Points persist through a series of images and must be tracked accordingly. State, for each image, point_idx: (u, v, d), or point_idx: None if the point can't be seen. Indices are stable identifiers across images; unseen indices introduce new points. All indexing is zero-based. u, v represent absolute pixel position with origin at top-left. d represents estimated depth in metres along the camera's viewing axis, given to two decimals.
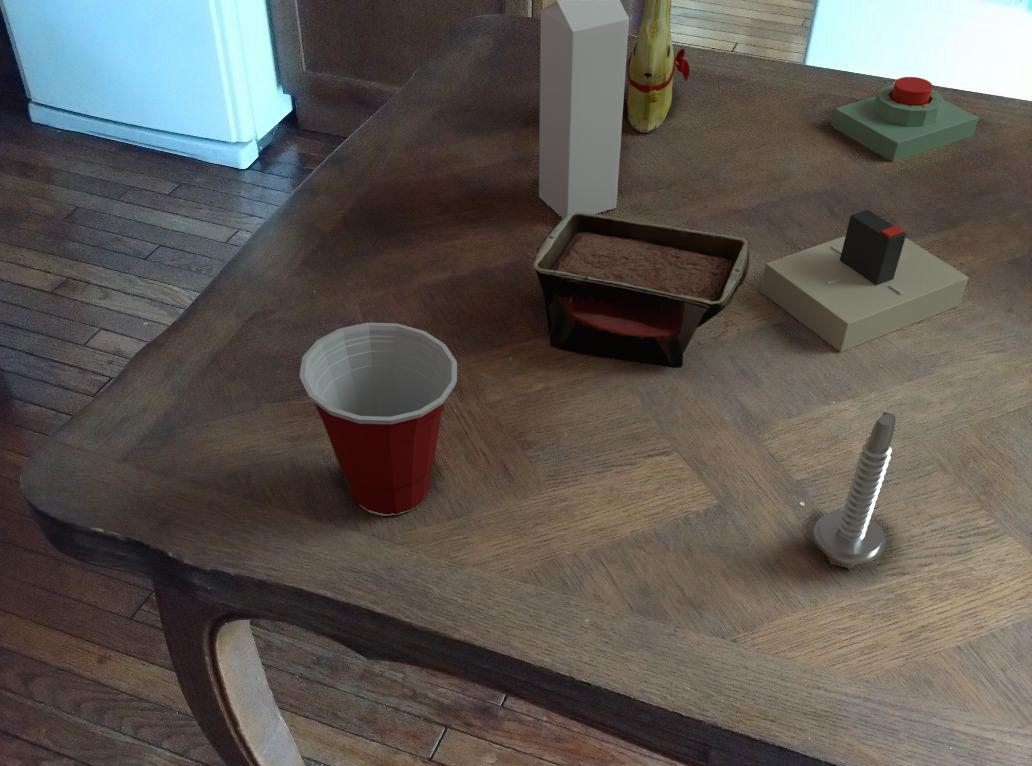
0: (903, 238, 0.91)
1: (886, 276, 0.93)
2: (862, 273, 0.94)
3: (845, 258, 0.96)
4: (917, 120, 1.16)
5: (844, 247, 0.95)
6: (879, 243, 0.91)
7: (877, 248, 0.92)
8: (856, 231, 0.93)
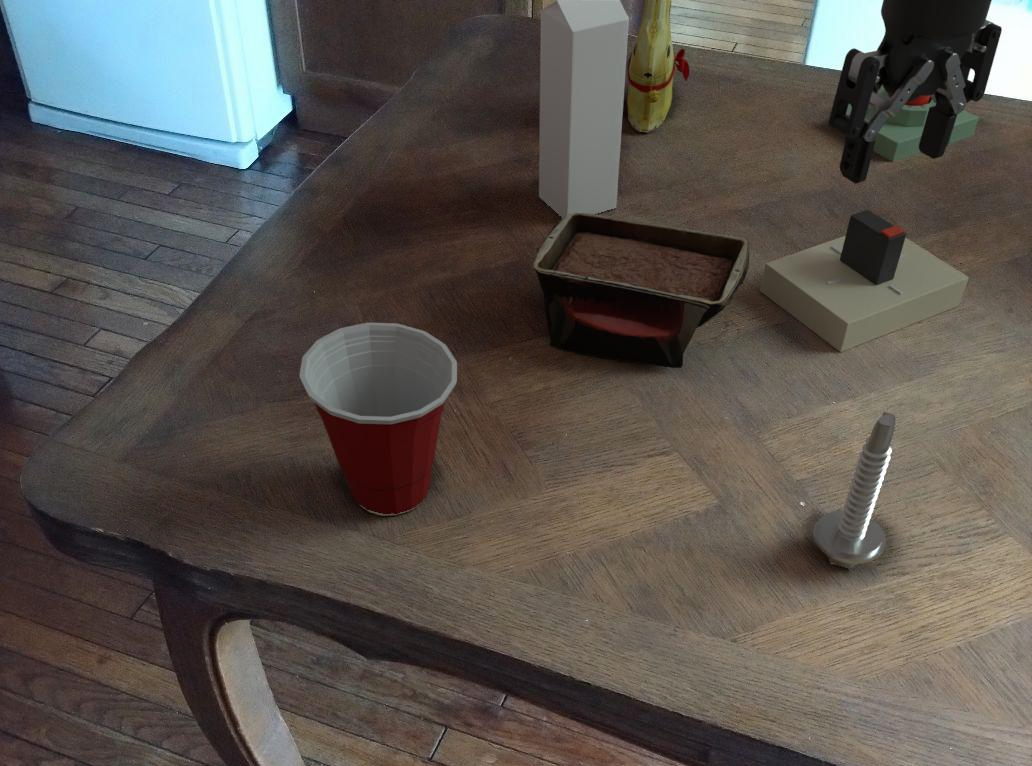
0: (903, 238, 0.91)
1: (886, 276, 0.93)
2: (862, 273, 0.94)
3: (845, 258, 0.96)
4: (917, 120, 1.16)
5: (844, 247, 0.95)
6: (879, 243, 0.91)
7: (877, 248, 0.92)
8: (856, 231, 0.93)
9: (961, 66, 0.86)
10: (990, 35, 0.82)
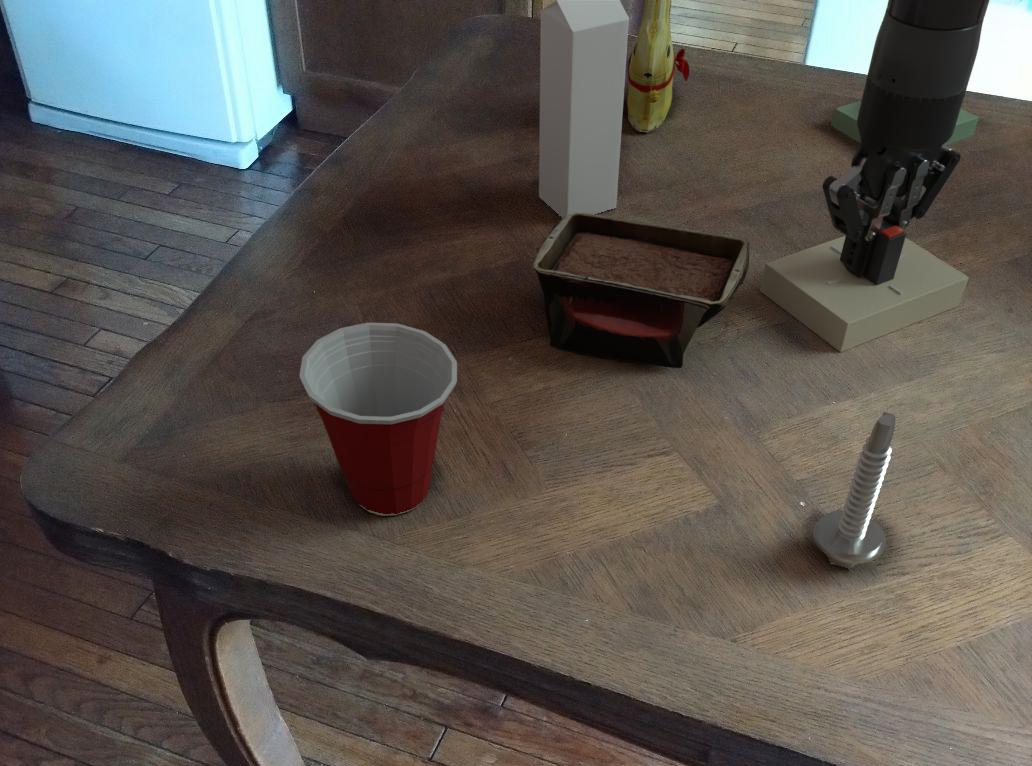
0: (903, 238, 0.91)
1: (886, 276, 0.93)
2: None
3: None
4: None
5: (844, 247, 0.95)
6: (879, 243, 0.91)
7: (877, 248, 0.92)
8: None
9: None
10: (951, 158, 0.89)
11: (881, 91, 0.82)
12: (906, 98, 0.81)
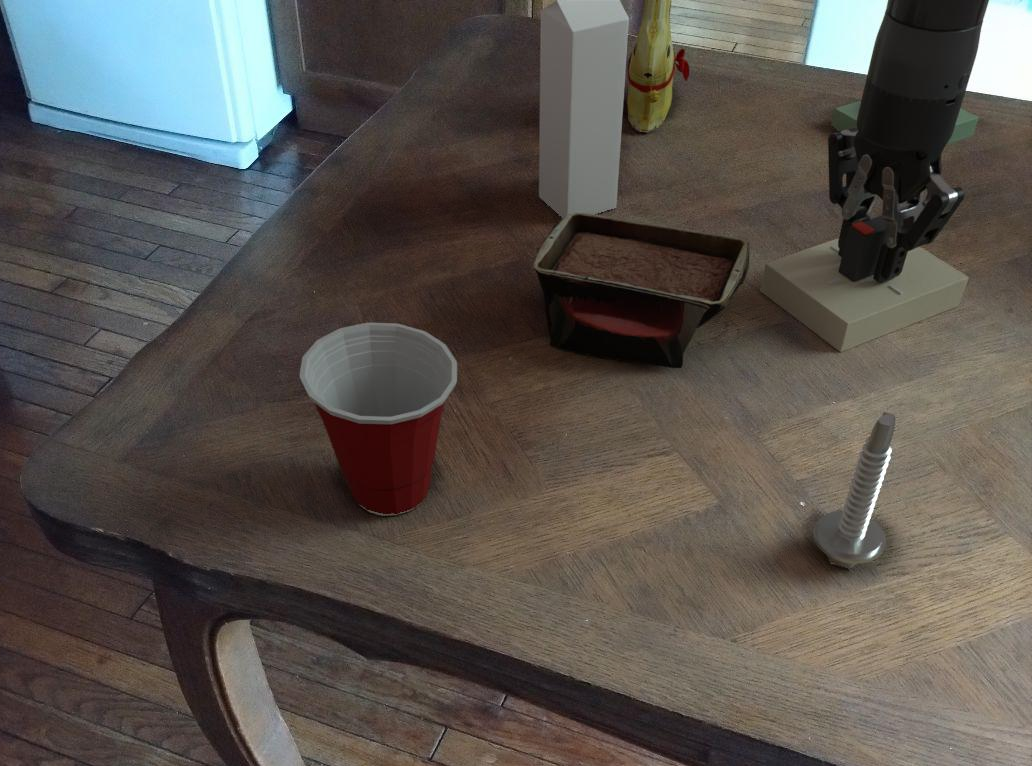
0: (862, 239, 0.91)
1: (846, 270, 0.94)
2: None
3: None
4: None
5: None
6: None
7: None
8: None
9: None
10: (932, 197, 0.84)
11: None
12: None
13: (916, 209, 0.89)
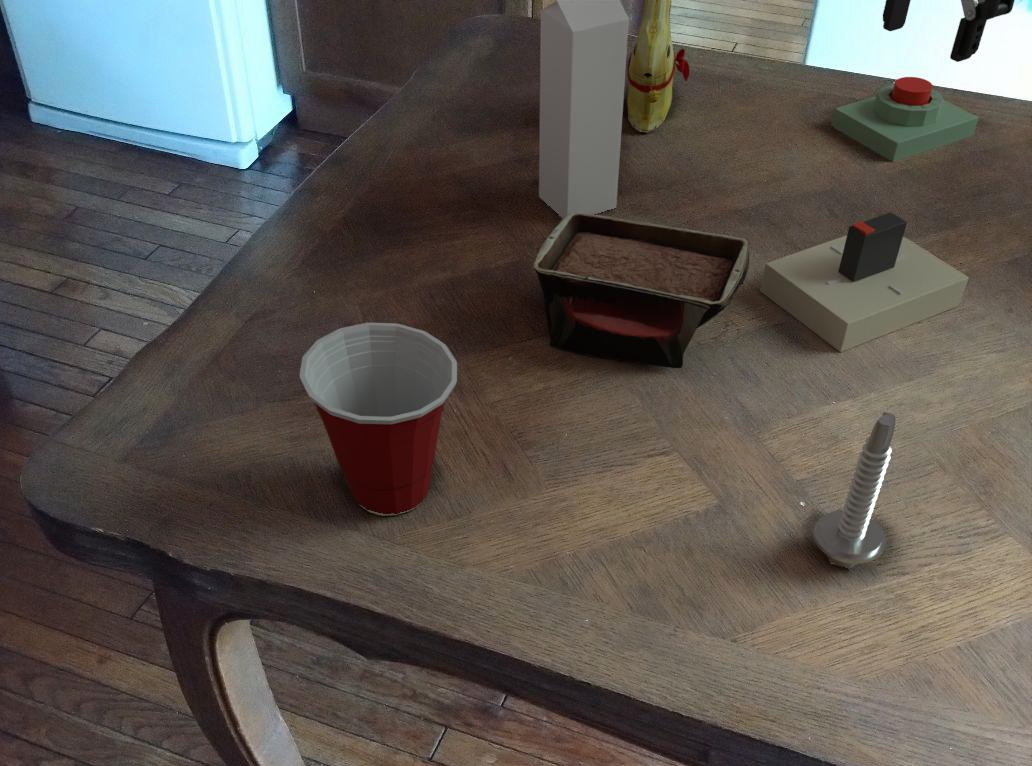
0: (862, 239, 0.91)
1: (846, 270, 0.94)
2: None
3: None
4: (917, 120, 1.16)
5: None
6: None
7: None
8: None
9: None
10: None
11: None
12: None
13: None
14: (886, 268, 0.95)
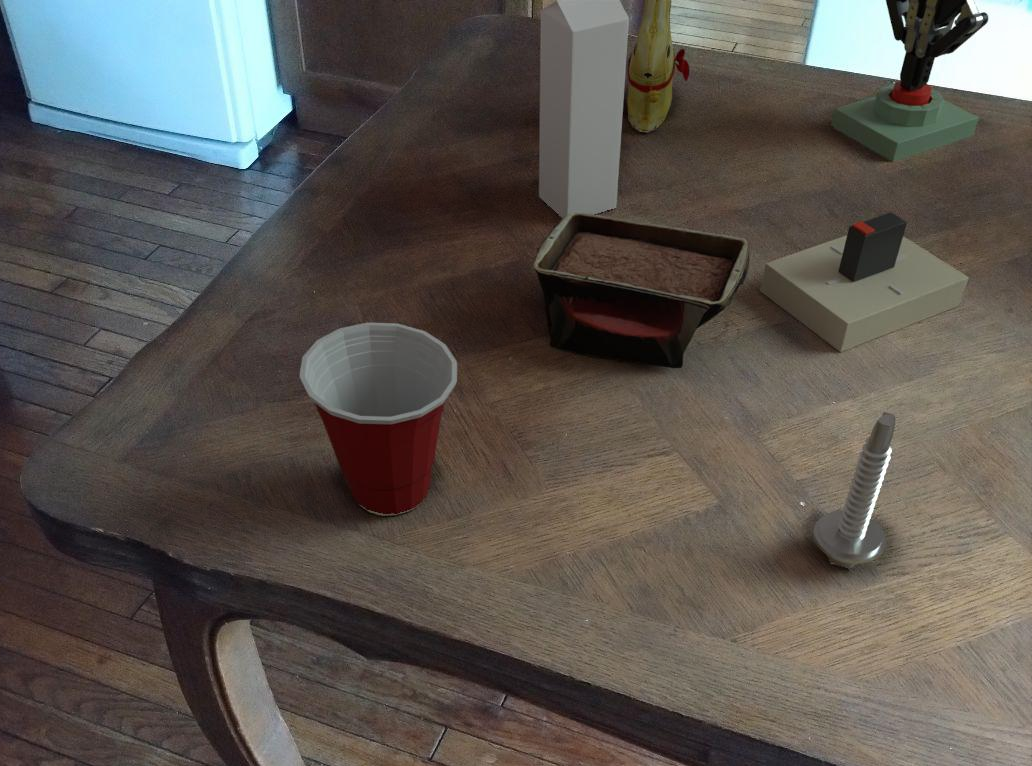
0: (862, 239, 0.91)
1: (846, 270, 0.94)
2: None
3: None
4: (917, 120, 1.16)
5: None
6: None
7: None
8: None
9: None
10: (964, 18, 1.06)
11: None
12: None
13: (946, 28, 1.11)
14: (886, 268, 0.95)
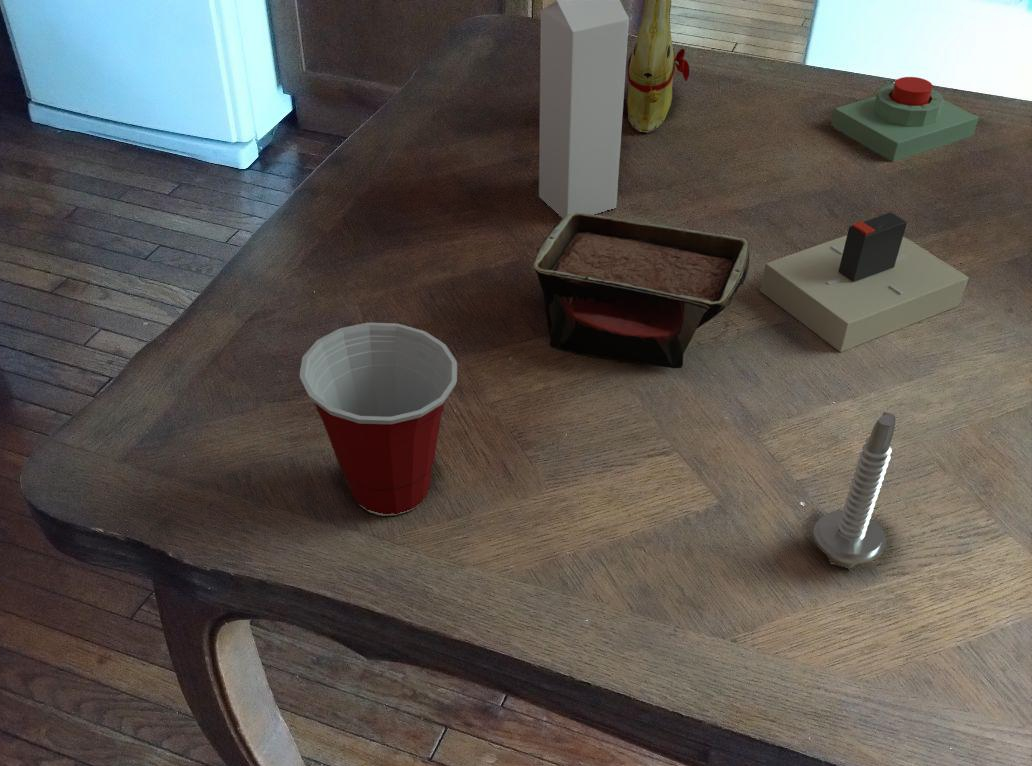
0: (862, 239, 0.91)
1: (846, 270, 0.94)
2: None
3: None
4: (917, 120, 1.16)
5: None
6: None
7: None
8: None
9: None
10: None
11: None
12: None
13: None
14: (886, 268, 0.95)
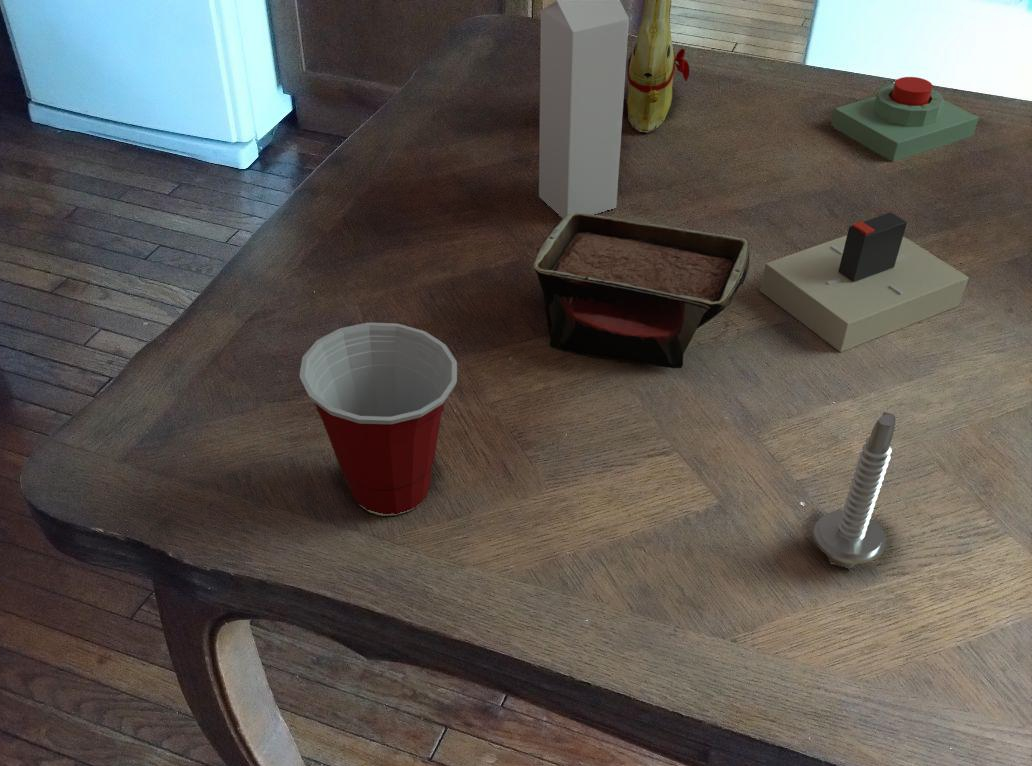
0: (862, 239, 0.91)
1: (846, 270, 0.94)
2: None
3: None
4: (917, 120, 1.16)
5: None
6: None
7: None
8: None
9: None
10: None
11: None
12: None
13: None
14: (886, 268, 0.95)
